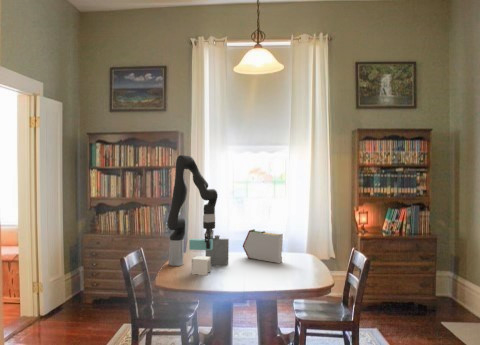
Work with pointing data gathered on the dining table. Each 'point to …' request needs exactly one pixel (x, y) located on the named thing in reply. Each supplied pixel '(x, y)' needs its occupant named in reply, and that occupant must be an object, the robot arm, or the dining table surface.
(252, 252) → the model house
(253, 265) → the dining table surface
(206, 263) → the cream rectangular block
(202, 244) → the teal rectangular block
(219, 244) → the hip flask
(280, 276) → the dining table surface
